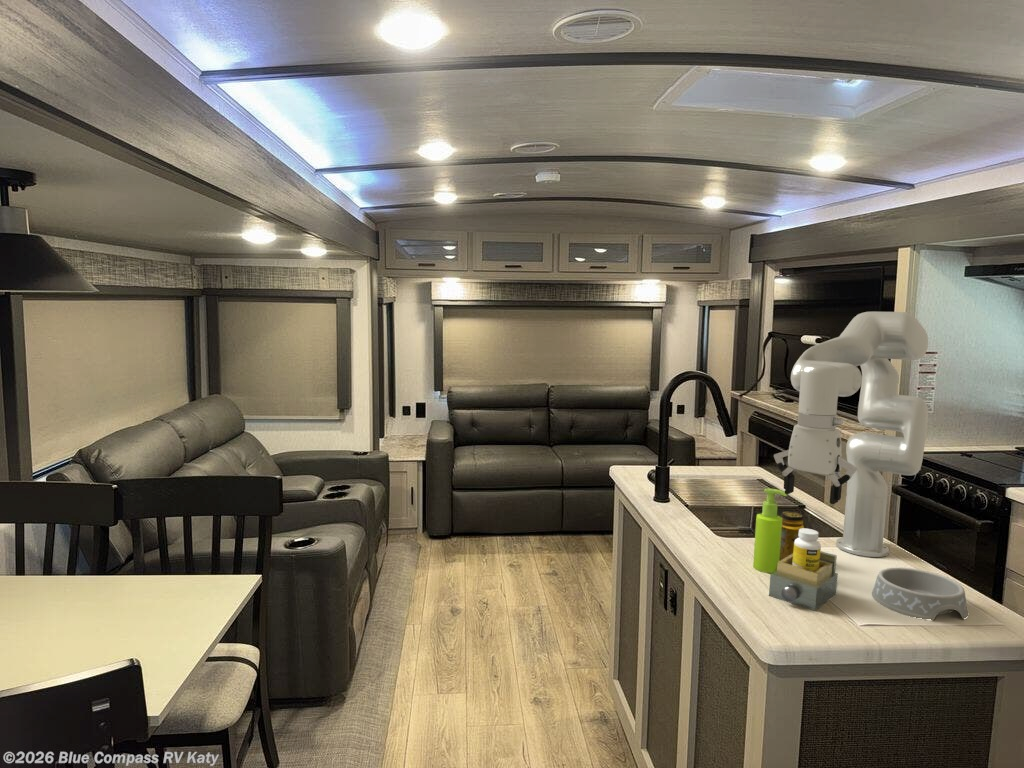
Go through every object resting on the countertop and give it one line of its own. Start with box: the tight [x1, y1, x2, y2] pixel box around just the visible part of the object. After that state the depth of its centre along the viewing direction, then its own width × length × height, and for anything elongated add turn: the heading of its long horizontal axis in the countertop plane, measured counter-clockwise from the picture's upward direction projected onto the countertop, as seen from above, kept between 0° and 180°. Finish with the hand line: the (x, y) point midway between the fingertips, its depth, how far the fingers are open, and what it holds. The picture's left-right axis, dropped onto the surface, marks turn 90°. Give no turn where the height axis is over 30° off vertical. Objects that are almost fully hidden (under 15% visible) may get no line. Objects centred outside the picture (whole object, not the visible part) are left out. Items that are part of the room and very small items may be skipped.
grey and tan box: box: [768, 550, 838, 612], centre depth 144 cm, size 14×10×9 cm
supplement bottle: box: [792, 527, 822, 572], centre depth 144 cm, size 5×5×10 cm
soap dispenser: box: [752, 487, 789, 574], centre depth 159 cm, size 6×7×20 cm
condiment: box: [779, 511, 805, 561], centre depth 167 cm, size 7×8×12 cm
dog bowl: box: [871, 567, 969, 621], centre depth 143 cm, size 17×18×5 cm
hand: (811, 497), depth 143 cm, fingers open, 9 cm apart
